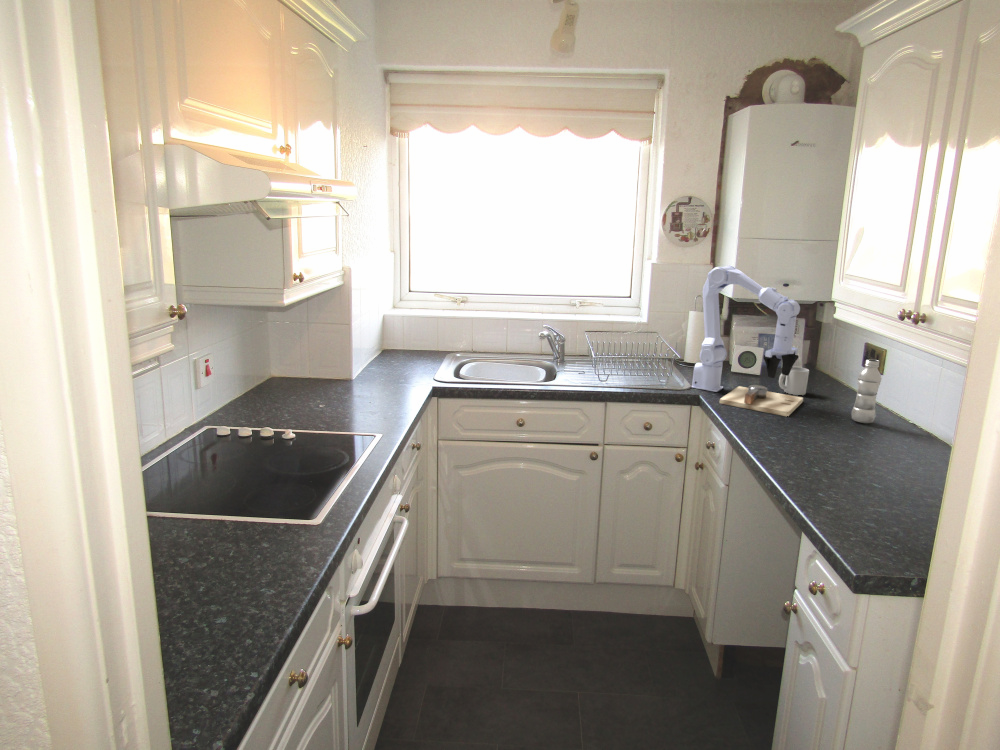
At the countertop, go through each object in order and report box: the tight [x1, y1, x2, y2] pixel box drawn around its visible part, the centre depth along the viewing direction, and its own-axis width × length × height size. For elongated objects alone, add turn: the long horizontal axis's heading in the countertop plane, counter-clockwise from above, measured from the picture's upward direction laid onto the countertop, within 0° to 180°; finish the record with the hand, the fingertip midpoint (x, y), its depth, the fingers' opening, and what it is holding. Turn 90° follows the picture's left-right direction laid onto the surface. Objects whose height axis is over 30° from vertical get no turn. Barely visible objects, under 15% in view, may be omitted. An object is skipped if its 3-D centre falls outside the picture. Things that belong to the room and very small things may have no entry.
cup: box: [778, 366, 810, 396], centre depth 246 cm, size 7×10×9 cm
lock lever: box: [744, 384, 768, 404], centre depth 231 cm, size 15×6×3 cm, turn 145°
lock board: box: [718, 385, 804, 417], centre depth 233 cm, size 22×22×2 cm
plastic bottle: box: [851, 358, 883, 424], centre depth 213 cm, size 6×7×20 cm
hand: (778, 376), depth 231 cm, fingers open, 7 cm apart
